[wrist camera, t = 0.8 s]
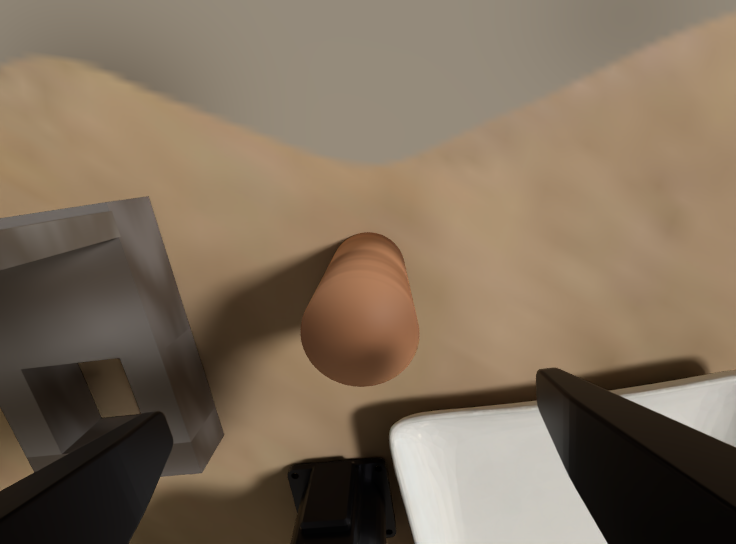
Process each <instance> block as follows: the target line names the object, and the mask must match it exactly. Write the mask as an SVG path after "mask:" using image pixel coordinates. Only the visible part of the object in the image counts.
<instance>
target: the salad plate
mask: <svg viewBox="0 0 736 544" xmlns="http://www.w3.org/2000/svg"><path fill="white" fill-rule="evenodd" d="M610 392H612V393H615V394H617V395H619V396H621V397H624V398H626V399H628V400H630V401H633V402H635V403H637V404H640V405H642V406H644V407H646V408H649V409H651V410H653V411H655V412H658V413H660V414H662V415H664V416H667V417H669V418H671V419H673V420H676V421H678V422H680V423H682V424H685V425H687V426H689V427H691V428H694V429H696V430H698V431H700V432H703V433H705V434H707V435H709V436H712V437H714V438H716V439H718V440H721V441H723V442H725V443H727V444H730V445H732V446H734V447H736V370H729V371H722V372H717V373H712V374H706V375H701V376H695V377H690V378H684V379H679V380H673V381H667V382H661V383H655V384H649V385H642V386H636V387H629V388H623V389H617V390H610ZM389 445H390V450H391V455H392V460H393V465H394V470H395V474H396V478H397V481H398V485H399V488H400V492H401V496H402V499H403V503H404V507H405V510H406V514H407V518H408V521H409V525H410V529H411V532H412V536H413V540H414V544H607V542H606V540H605V538H604V537H603V535H602V533H601V532H600V530H599V528H598V526H597V525H596V523H595V521H594V519H593V518H592V516H591V514H590V513H589V511H588V509H587V507H586V506H585V504H584V502H583V501H582V499H581V497H580V495H579V494H578V492H577V490H576V489H575V487H574V485H573V483H572V481H571V479H570V478H569V476H568V474H567V472H566V470H565V467H564V465H563V463H562V461H561V459H560V456H559V454H558V452H557V450H556V448H555V445H554V443H553V441H552V439H551V436H550V434H549V432H548V430H547V428H546V425H545V423H544V421H543V419H542V417H541V414H540V412H539V409H538V406H537V400H536V401H528V402H519V403H510V404H500V405H491V406H481V407H471V408H459V409H447V410H436V411H428V412H421V413H416V414H412V415H409V416H406V417H404V418H402V419H400V420H399V421H397V422H396V423H395V424H394V425H393V426H392V427H391V429H390V433H389Z"/></svg>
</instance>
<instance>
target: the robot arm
mask: <svg viewBox="0 0 736 544" xmlns="http://www.w3.org/2000/svg"><path fill="white" fill-rule="evenodd" d="M536 396H537V406H538V409H539V412H540V414H541V417H542V419H543V421H544V423H545V425H546V428H547V430H548V432H549V434H550V436H551V439H552V441H553V443H554V445H555V448H556V450H557V452H558V454H559V456H560V459H561V461H562V463H563V465H564V467H565V470H566V472H567V474H568V476H569V478H570V479H571V481H572V483H573V485H574V487H575V489H576V490H577V492H578V494H579V495H580V497H581V499H582V501H583V502H584V504H585V506H586V507H587V509H588V511H589V513H590V514H591V516H592V518H593V519H594V521H595V523H596V525H597V526H598V528H599V530H600V532H601V533H602V535H603V537H604V538H605V540H606V542H607V544H736V447H734V446H732V445H730V444H727V443H725V442H723V441H721V440H718V439H716V438H714V437H712V436H709V435H707V434H705V433H703V432H700V431H698V430H696V429H694V428H691V427H689V426H687V425H685V424H682V423H680V422H678V421H676V420H673V419H671V418H669V417H667V416H664V415H662V414H660V413H658V412H655V411H653V410H651V409H649V408H646V407H644V406H642V405H640V404H637V403H635V402H633V401H630V400H628V399H626V398H624V397H621V396H619V395H617V394H615V393H612V392H610V391H608V390H606V389H603V388H601V387H599V386H597V385H594V384H592V383H590V382H588V381H585V380H583V379H581V378H579V377H576V376H574V375H572V374H570V373H567V372H565V371H563V370H561V369H558V368H546V369H539V370H538V371H537V374H536ZM172 448H173V436H172V433H171V430H170V428H169V425H168V422H167V419H166V417H165V415H164V413H163V412H161V411H153V412H145V413H142V414H140V415H138V416H137V417H135V418H133V419H131V420H129V421H127V422H126V423H124V424H122V425H120V426H118V427H116V428H115V429H113V430H111V431H109V432H107V433H106V434H104V435H102V436H100V437H98V438H96V439H95V440H93V441H91V442H89V443H87V444H85V445H84V446H82V447H80V448H78V449H76V450H75V451H73V452H71V453H69V454H67V455H65V456H64V457H62V458H60V459H58V460H56V461H55V462H53V463H51V464H49V465H47V466H45V467H44V468H42V469H40V470H38V471H36V472H34V473H33V474H31V475H29V476H27V477H25V478H24V479H22V480H20V481H18V482H16V483H14V484H13V485H11V486H9V487H7V488H5V489H3V490H2V491H0V544H128V543H129V541H130V539H131V538H132V536H133V534H134V532H135V530H136V528H137V526H138V524H139V522H140V520H141V519H142V517H143V515H144V513H145V510H146V508H147V506H148V504H149V502H150V499H151V497H152V495H153V492H154V490H155V488H156V485H157V483H158V481H159V478H160V476H161V474H162V471H163V469H164V467H165V465H166V462H167V460H168V458H169V455H170V453H171V451H172ZM376 466H380V467H376ZM295 473H297V474H295ZM288 480H289V483H290V487H291V491H292V495H293V498H294V502H295V506H296V510H297V518H296V522H295V526H294V530H293V534H292V538H291V542H290V544H386V538H388V537H393V536H395V534H396V523H395V517H394V511H393V505H392V498H391V492H390V486H389V480H388V474H387V468H386V463H385V461H384V460H383V459H381V458H370V459H359V460H347V461H336V462H324V463H313V464H301V465H293V466H291V467H290V469H289V472H288Z"/></svg>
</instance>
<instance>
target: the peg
mask: <svg viewBox="0 0 736 544" xmlns="http://www.w3.org/2000/svg"><path fill="white" fill-rule="evenodd" d="M301 341H302V345H303V348H304V351H305V353H306V355H307V357H308V358H309V360H310V361H311V363H312V364H313V365H314V366H315V367H316V368H317V369H318V370H319V371H320V372H321V373H322V374H324V375H325V376H327V377H328V378H330V379H332V380H334V381H336V382H339V383H342V384H345V385H350V386H359V387H364V386H373V385H378V384H381V383H384V382H386V381H389V380H391V379H392V378H394V377H396V376H397V375H399V374H400V373H401V372H402V371H403V370H404V369H405V368H406V367H407V366H408V365H409V364H410V362H411V361H412V359H413V357H414V355H415V353H416V350H417V347H418V343H419V325H418V320H417V316H416V312H415V307H414V303H413V298H412V294H411V290H410V285H409V281H408V277H407V272H406V268H405V264H404V259H403V256H402V254H401V252H400V250H399V248H398V247H397V246H396V245H395V243H393V242H392V241H391V240H390V239H388V238H387V237H385V236H383V235H380V234H377V233H368V232H367V233H359V234H356V235H353V236H351V237H349V238H348V239H346V240H345V241H344V242H343V243H342V244H341V245H340V246H339V247H338V249H337V250H336V252H335V254H334V256H333V258H332V260H331V262H330V264H329V266H328V268H327V270H326V271H325V273H324V275H323V277H322V279H321V281H320V283H319V285H318V287H317V289H316V291H315V293H314V294H313V296H312V298H311V300H310V302H309V304H308V306H307V308H306V310H305V312H304V315H303V318H302V322H301Z"/></svg>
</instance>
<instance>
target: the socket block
mask: <svg viewBox="0 0 736 544" xmlns="http://www.w3.org/2000/svg"><path fill="white" fill-rule="evenodd" d="M114 358H120V360H121V363H122V365H123V368H124V371H125V373H126V376H127V378H128V381H129V383H130V386H131V388H132V391H133V394H134V396H135V399H136V401H137V404H138V406H139V409H140V411H141V414H142V413H145V412H153V411H161V412H163V413H164V415H165V417H166V419H167V422H168V425H169V428H170V430H171V433H172V436H173V448H172V451H171V453H170V455H169V458H168V460H167V462H166V465H165V467H164V469H163V471H162V474H161V476H160V477H163V476H174V475H185V474H197V473H202V472H203V470H204V469H205V467H206V465H207V464H208V462H209V460H210V458H211V457H212V455H213V453H214V451H215V450H216V448H217V446H218V445H219V443H220V441H221V439H222V438H223V436H224V433H223V430H222V427H221V423H220V420H219V417H218V414H217V411H216V408H215V404H214V401H213V398H212V395H211V392H210V389H209V386H208V382H207V379H206V376H205V373H204V370H203V367H202V363H201V360H200V357H199V354H198V351H197V348H196V345H195V341H194V338H193V335H192V332H191V329H190V326H189V322H188V319H187V316H186V313H185V310H184V307H183V304H182V300H181V297H180V294H179V291H178V288H177V285H176V281H175V278H174V275H173V272H172V269H171V266H170V263H169V259H168V256H167V253H166V250H165V247H164V244H163V240H162V237H161V234H160V231H159V228H158V225H157V222H156V218H155V215H154V212H153V209H152V206H151V203H150V199H149V196H148V197H140V198H133V199H126V200H119V201H112V202H105V203H98V204H92V205H85V206H79V207H72V208H65V209H59V210H52V211H46V212H39V213H33V214H26V215H19V216H13V217H6V218H0V407H1V409H2V411H3V413H4V415H5V417H6V419H7V421H8V423H9V425H10V427H11V429H12V430H13V432H14V434H15V436H16V438H17V440H18V442H19V444H20V446H21V448H22V450H23V451H24V453H25V455H26V457H27V459H28V461H29V463H30V465H31V467H32V469H33V471H34V472H36V471H38V470H40V469H42V468H44V467H45V466H47V465H49V464H51V463H53V462H55V461H56V460H58V459H60V458H62V457H64V456H65V455H67V454H69V453H71V452H73V451H75V450H76V449H78V448H80V447H82V446H84V445H85V444H87V443H89V442H91V441H93V440H95V439H96V438H98V437H100V436H102V435H104V434H106V433H107V432H109V431H111V430H113V429H115V428H116V427H118V426H120V425H122V424H124V423H126V422H127V421H129V420H131V419H133V418H135V417H137V416H138V415H140V414H138V415H129V416H119V417H109V418H101V416H100V414H99V412H98V409H97V407H96V405H95V402H94V400H93V398H92V395H91V393H90V391H89V389H88V386H87V384H86V382H85V379H84V377H83V375H82V372H81V370H80V368H79V365H78V363H80V362H88V361H97V360H106V359H114Z"/></svg>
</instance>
